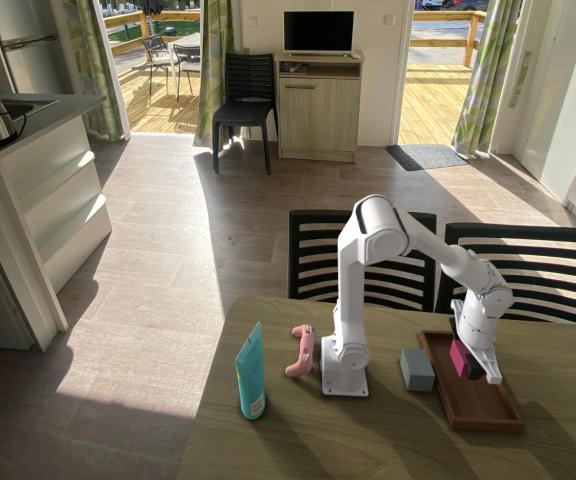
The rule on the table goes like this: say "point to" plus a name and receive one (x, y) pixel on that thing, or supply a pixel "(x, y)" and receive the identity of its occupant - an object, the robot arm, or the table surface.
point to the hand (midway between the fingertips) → (465, 364)
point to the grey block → (417, 369)
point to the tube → (251, 375)
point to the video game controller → (303, 351)
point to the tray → (468, 391)
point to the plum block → (460, 357)
